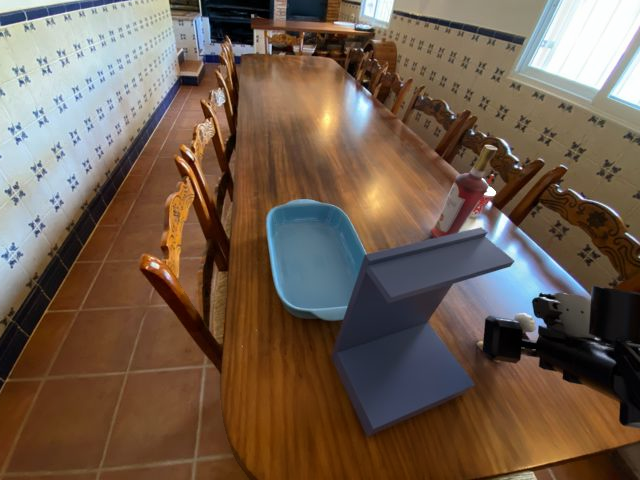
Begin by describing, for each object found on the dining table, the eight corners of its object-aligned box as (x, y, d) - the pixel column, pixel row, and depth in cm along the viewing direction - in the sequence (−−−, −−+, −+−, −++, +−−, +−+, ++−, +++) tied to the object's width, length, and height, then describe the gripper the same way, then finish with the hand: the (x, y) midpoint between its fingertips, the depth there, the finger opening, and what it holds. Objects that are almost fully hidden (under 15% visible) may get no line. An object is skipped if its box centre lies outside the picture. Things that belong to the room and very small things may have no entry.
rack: (465, 393, 52) (572, 300, 34) (367, 437, 46) (435, 351, 28) (417, 327, 62) (481, 227, 44) (330, 356, 56) (364, 254, 38)
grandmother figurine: (469, 345, 59) (502, 309, 51) (476, 333, 61) (509, 297, 53) (510, 375, 55) (553, 341, 47) (516, 361, 57) (559, 326, 49)
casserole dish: (386, 330, 60) (396, 311, 56) (278, 344, 57) (280, 324, 52) (336, 216, 88) (340, 196, 84) (261, 220, 85) (261, 200, 80)
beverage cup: (483, 213, 94) (507, 175, 86) (478, 221, 91) (502, 183, 82) (463, 204, 97) (484, 167, 89) (457, 212, 94) (478, 174, 85)
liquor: (424, 228, 86) (467, 139, 69) (448, 230, 87) (498, 141, 69) (433, 246, 81) (483, 154, 63) (459, 248, 81) (516, 156, 63)
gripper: (677, 315, 38) (570, 295, 54) (526, 291, 40) (464, 278, 55) (674, 405, 37) (566, 358, 53) (519, 377, 39) (458, 339, 54)
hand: (512, 331), depth 54 cm, fingers open, 9 cm apart
